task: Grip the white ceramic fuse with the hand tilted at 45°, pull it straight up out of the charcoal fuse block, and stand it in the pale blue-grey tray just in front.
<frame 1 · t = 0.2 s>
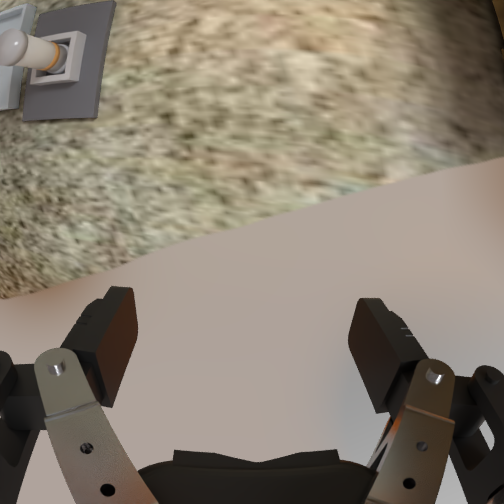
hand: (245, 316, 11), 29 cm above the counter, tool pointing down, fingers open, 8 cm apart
fuse: (62, 60, 30), point 1 cm above the counter, touching fuse block
fuse block: (66, 61, 31), on the counter
tray: (3, 60, 30), on the counter
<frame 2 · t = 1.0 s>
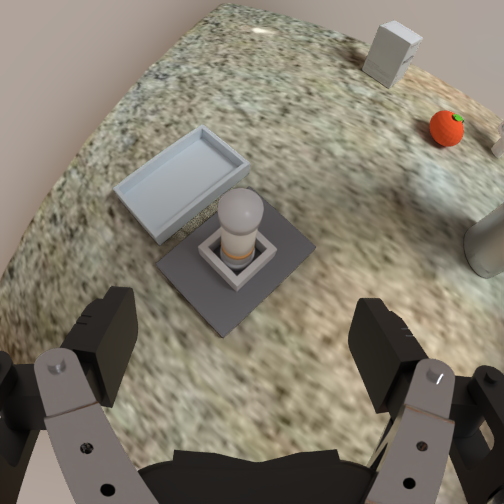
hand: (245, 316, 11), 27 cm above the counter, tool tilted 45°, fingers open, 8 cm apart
fuse: (237, 255, 39), point 1 cm above the counter, touching fuse block
supplement box: (382, 75, 58), on the counter
fuse block: (236, 258, 41), on the counter
clementine: (439, 139, 52), on the counter
tray: (182, 184, 44), on the counter
drinking glass: (495, 153, 54), on the counter
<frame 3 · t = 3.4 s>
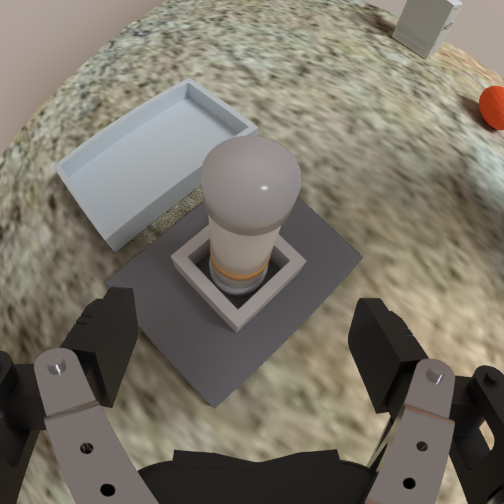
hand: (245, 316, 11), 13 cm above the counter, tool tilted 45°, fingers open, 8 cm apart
fuse: (237, 270, 24), point 1 cm above the counter, touching fuse block
supplement box: (414, 45, 43), on the counter
fuse block: (236, 275, 25), on the counter
clementine: (488, 122, 37), on the counter
tray: (155, 160, 28), on the counter
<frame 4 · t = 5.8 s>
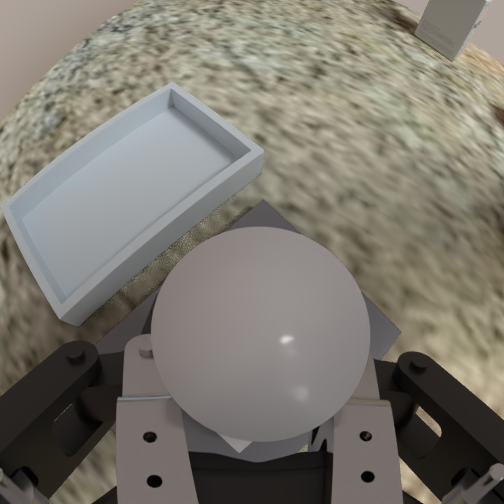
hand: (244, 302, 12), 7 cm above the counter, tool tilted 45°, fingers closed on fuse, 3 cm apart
fuse: (237, 361, 17), point 1 cm above the counter, touching fuse block, gripper
supplement box: (438, 45, 36), on the counter
fuse block: (236, 362, 18), on the counter
tray: (127, 196, 21), on the counter
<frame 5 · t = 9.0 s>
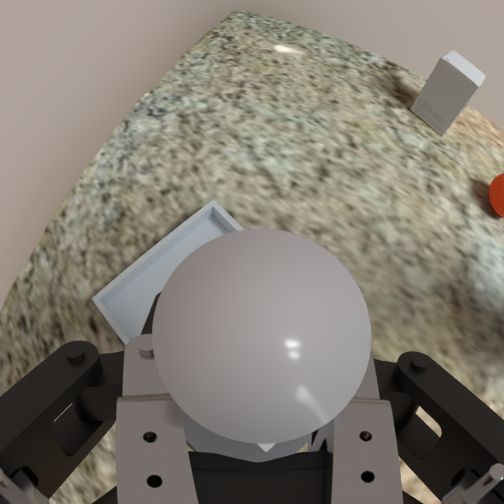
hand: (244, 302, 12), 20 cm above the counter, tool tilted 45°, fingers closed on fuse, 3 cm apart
fuse: (238, 362, 17), point 14 cm above the counter, touching gripper
supplement box: (432, 116, 47), on the counter
fuse block: (262, 400, 29), on the counter
clementine: (495, 205, 41), on the counter
tray: (187, 291, 32), on the counter
when the fingers open (8 cm above the counter, at t = 12.1 s): fuse drops 2 cm, resting on tray.
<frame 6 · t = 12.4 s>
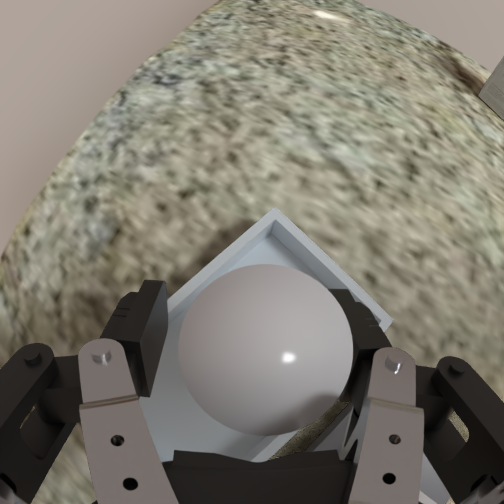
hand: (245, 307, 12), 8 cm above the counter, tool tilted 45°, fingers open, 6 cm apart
fuse: (241, 364, 18), point 1 cm above the counter, touching tray
supplement box: (498, 106, 33), on the counter
tray: (235, 363, 19), on the counter
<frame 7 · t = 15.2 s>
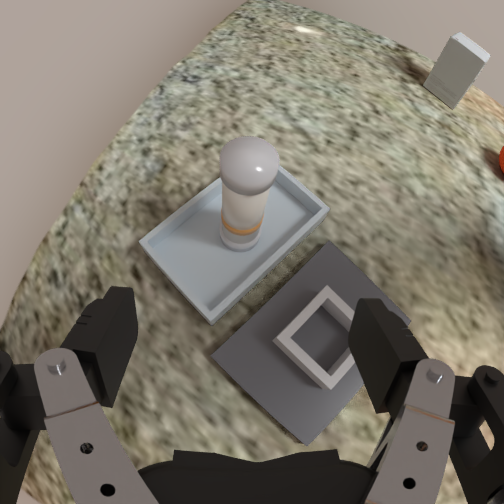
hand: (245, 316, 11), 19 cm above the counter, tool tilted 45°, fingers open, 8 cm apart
fuse: (239, 233, 32), point 1 cm above the counter, touching tray
supplement box: (442, 92, 48), on the counter
fuse block: (317, 341, 29), on the counter
tray: (236, 235, 33), on the counter
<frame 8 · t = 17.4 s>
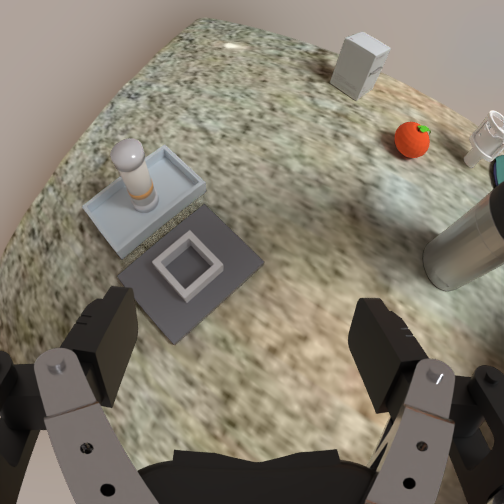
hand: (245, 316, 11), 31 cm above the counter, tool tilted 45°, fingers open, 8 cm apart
fuse: (145, 201, 46), point 1 cm above the counter, touching tray
supplement box: (351, 87, 61), on the counter
fuse block: (189, 272, 43), on the counter
clementine: (405, 151, 56), on the counter
tray: (144, 202, 47), on the counter
drinking glass: (468, 162, 57), on the counter
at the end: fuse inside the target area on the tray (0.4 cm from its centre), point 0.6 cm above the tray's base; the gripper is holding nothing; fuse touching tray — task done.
